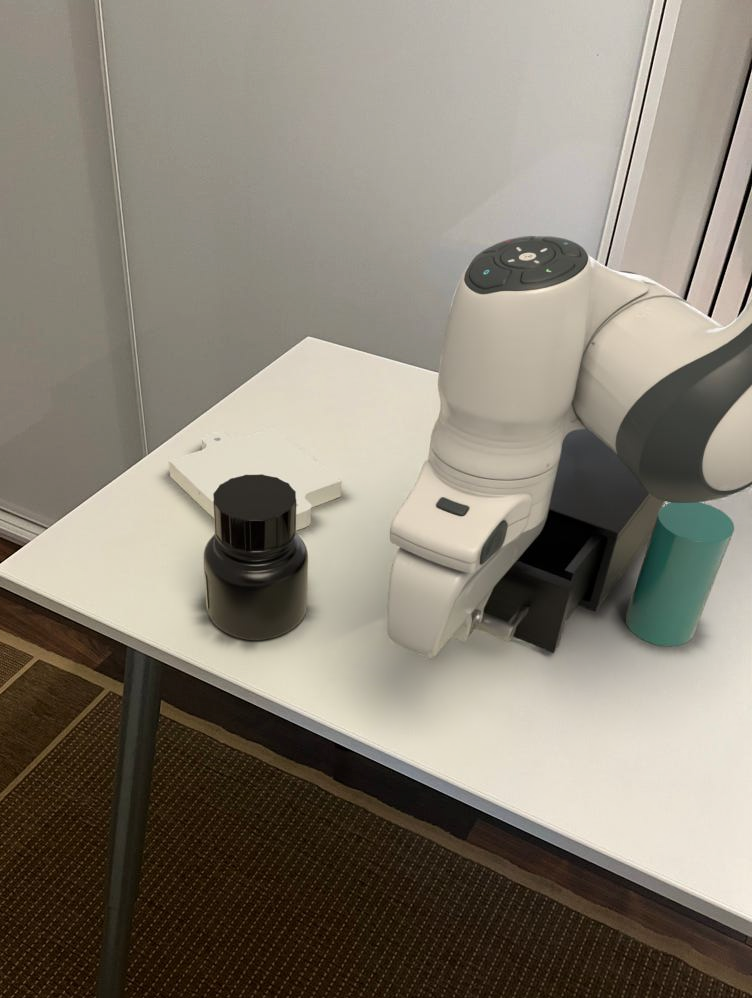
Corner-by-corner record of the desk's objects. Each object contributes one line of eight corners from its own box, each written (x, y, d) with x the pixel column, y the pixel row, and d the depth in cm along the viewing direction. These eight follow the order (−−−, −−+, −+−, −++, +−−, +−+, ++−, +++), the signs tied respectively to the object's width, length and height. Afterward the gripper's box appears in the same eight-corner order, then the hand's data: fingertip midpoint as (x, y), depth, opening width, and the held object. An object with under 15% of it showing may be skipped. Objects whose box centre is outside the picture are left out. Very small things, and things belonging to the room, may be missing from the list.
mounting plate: (159, 465, 105) (157, 450, 103) (260, 432, 110) (260, 417, 109) (246, 549, 93) (246, 533, 92) (355, 508, 99) (356, 492, 97)
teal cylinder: (703, 619, 86) (743, 515, 78) (681, 655, 82) (721, 550, 75) (638, 594, 88) (672, 492, 81) (615, 629, 85) (648, 525, 77)
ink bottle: (265, 565, 92) (264, 454, 84) (330, 610, 87) (335, 497, 79) (183, 609, 87) (173, 496, 79) (247, 659, 82) (243, 544, 74)
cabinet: (595, 612, 86) (618, 533, 81) (458, 558, 92) (470, 481, 87) (655, 528, 96) (679, 452, 90) (527, 484, 102) (542, 411, 96)
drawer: (532, 682, 79) (548, 618, 74) (399, 624, 84) (406, 561, 79) (617, 567, 90) (635, 505, 85) (494, 522, 95) (505, 462, 91)
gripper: (510, 410, 76) (485, 552, 85) (377, 535, 64) (363, 685, 73) (587, 433, 74) (552, 577, 83) (463, 569, 61) (438, 720, 70)
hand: (463, 629), depth 78 cm, fingers closed
